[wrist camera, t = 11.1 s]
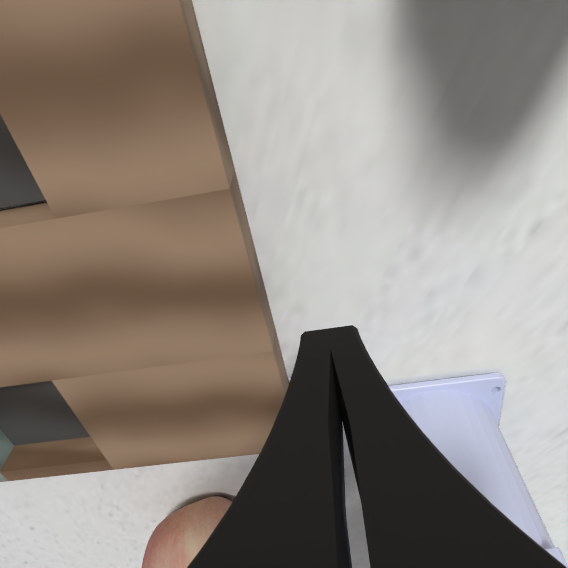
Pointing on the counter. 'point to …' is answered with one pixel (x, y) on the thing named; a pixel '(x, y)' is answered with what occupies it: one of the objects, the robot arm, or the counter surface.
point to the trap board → (123, 248)
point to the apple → (184, 533)
